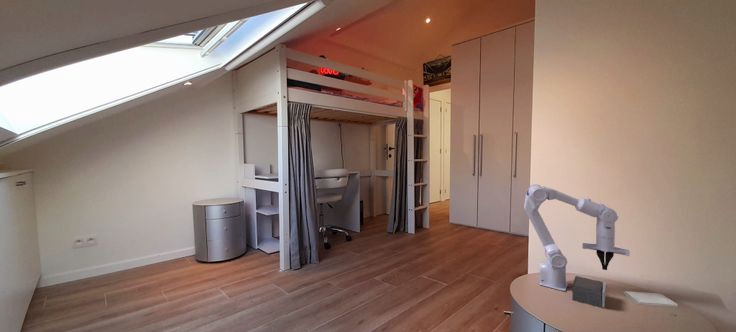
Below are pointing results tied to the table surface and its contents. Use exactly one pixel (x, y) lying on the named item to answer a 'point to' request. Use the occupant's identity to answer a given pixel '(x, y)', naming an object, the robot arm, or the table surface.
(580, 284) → the player housing
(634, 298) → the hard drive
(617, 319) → the table surface
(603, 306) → the tray
